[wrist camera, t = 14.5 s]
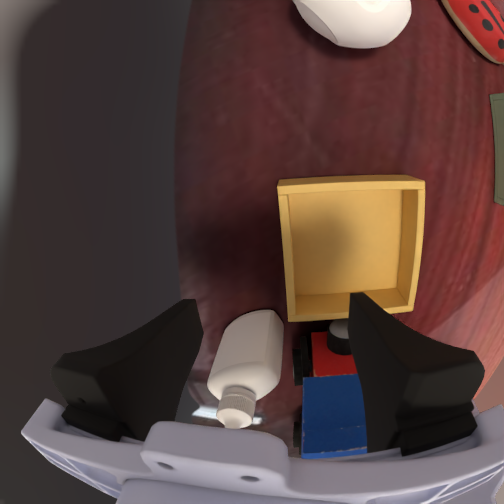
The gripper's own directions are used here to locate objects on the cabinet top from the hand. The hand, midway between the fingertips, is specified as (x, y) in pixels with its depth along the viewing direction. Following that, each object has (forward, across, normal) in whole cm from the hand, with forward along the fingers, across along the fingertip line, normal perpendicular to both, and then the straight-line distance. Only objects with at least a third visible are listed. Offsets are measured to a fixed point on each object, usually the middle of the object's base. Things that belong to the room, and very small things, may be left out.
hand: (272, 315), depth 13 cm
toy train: (+11, -5, +16) cm, 20 cm away
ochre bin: (+10, -5, 0) cm, 12 cm away
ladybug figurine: (+11, -21, -21) cm, 31 cm away
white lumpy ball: (+11, -7, -18) cm, 22 cm away
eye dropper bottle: (+11, +3, +8) cm, 14 cm away
